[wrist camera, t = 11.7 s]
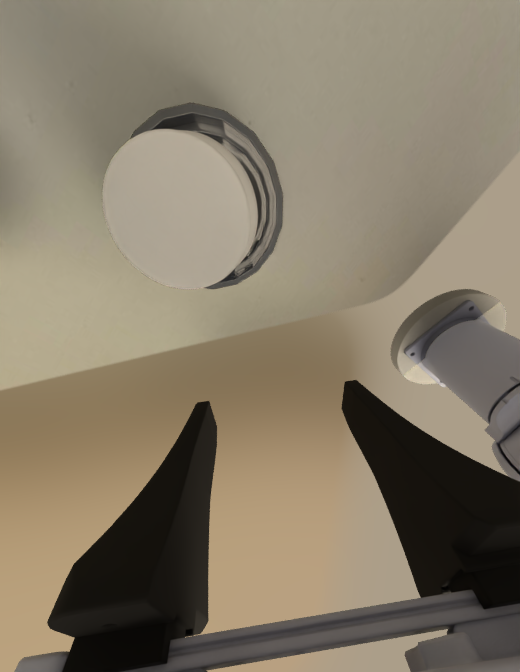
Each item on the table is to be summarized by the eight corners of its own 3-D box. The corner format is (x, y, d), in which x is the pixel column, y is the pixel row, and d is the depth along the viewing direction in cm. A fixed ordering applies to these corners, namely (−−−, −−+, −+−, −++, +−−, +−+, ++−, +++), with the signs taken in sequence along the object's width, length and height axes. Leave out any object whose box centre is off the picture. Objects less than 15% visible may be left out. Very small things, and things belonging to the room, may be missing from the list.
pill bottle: (255, 245, 18) (275, 290, 9) (181, 258, 18) (130, 316, 9) (241, 150, 15) (250, 83, 6) (151, 165, 15) (33, 120, 6)
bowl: (300, 198, 17) (315, 198, 14) (225, 296, 20) (224, 313, 17) (186, 78, 13) (171, 43, 10) (117, 221, 16) (91, 227, 13)
